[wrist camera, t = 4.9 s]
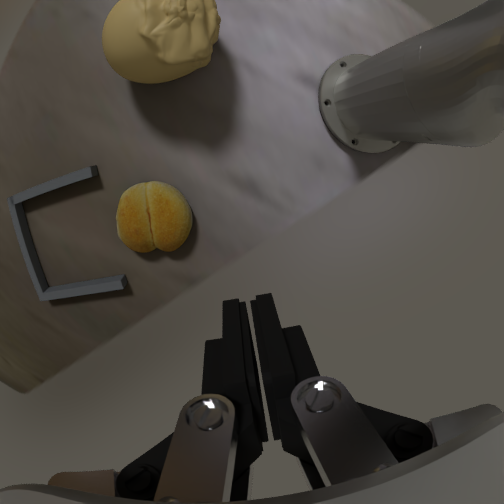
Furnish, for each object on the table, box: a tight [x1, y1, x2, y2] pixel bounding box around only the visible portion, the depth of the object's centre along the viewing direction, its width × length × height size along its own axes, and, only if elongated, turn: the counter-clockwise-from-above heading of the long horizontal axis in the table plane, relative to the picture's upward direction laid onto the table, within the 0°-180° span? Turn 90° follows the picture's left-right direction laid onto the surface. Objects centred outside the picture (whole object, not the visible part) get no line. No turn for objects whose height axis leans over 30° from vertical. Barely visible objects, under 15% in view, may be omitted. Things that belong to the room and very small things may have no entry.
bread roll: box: [116, 181, 193, 253], centre depth 32 cm, size 8×9×4 cm
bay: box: [7, 166, 127, 301], centre depth 32 cm, size 15×15×2 cm
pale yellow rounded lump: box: [102, 0, 221, 84], centre depth 21 cm, size 11×12×11 cm
